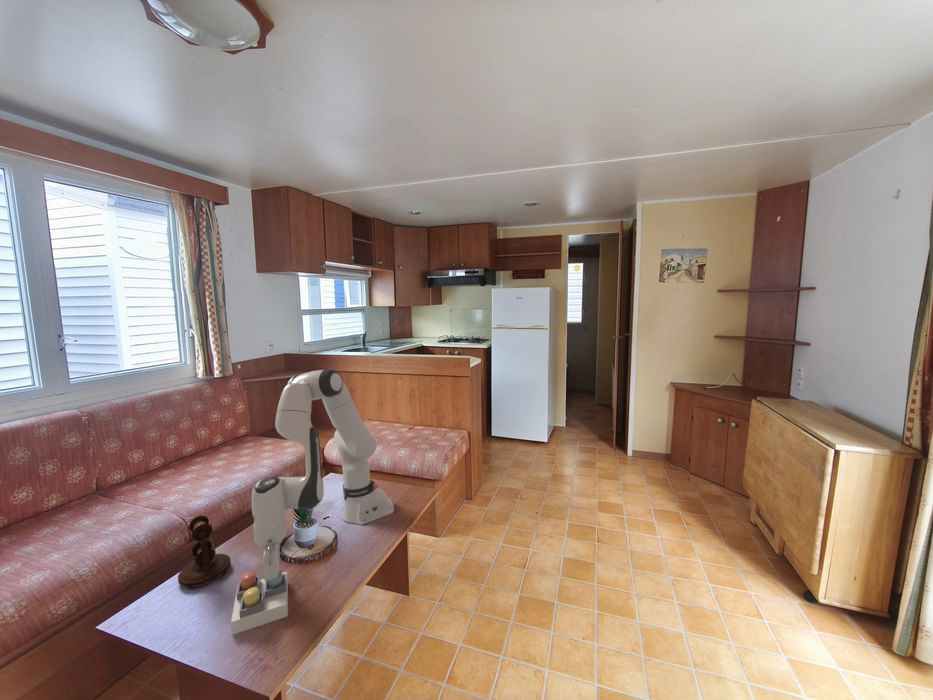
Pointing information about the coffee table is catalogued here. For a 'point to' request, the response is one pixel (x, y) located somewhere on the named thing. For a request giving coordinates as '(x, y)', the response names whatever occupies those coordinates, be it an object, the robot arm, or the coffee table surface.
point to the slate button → (276, 581)
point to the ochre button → (251, 597)
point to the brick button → (248, 580)
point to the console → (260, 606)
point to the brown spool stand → (203, 557)
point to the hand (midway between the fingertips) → (273, 573)
